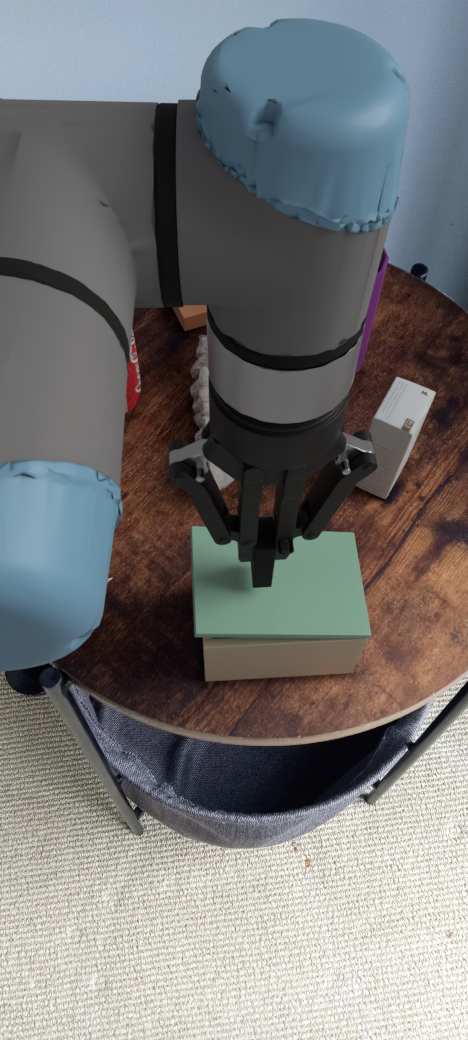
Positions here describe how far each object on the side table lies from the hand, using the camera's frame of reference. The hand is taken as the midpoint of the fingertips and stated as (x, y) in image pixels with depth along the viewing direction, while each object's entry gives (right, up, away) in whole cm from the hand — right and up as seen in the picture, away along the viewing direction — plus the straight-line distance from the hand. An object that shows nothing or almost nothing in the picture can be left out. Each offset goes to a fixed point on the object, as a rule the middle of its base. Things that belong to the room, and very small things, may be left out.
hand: (260, 572), depth 58 cm
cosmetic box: (+14, +9, +20) cm, 26 cm away
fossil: (-4, +14, +23) cm, 27 cm away
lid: (+2, -1, +2) cm, 3 cm away
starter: (-5, +32, +33) cm, 46 cm away
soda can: (-16, +18, +25) cm, 35 cm away
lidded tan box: (+2, -6, +11) cm, 13 cm away
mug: (+9, +21, +27) cm, 35 cm away
